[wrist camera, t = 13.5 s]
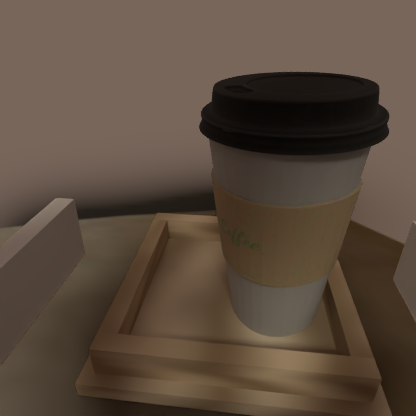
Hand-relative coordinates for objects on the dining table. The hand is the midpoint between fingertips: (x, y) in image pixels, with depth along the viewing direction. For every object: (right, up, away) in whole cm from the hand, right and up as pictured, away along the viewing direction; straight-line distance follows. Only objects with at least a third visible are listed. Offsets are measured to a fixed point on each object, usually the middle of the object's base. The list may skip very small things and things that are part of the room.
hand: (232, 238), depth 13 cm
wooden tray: (+1, -6, +12) cm, 14 cm away
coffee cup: (+4, -6, +11) cm, 13 cm away
